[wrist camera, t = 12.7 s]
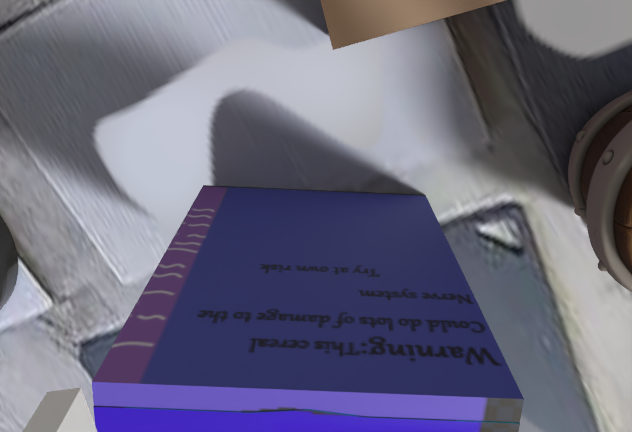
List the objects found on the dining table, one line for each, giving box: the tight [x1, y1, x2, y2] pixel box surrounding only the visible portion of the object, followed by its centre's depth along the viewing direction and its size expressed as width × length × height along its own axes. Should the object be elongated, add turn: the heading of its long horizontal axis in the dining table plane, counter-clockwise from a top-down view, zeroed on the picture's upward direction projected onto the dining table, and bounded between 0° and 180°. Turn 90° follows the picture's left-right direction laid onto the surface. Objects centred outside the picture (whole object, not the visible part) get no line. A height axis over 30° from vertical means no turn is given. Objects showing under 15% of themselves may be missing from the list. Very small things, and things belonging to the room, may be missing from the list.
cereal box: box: [92, 185, 524, 432], centre depth 35 cm, size 17×5×24 cm, turn 88°
